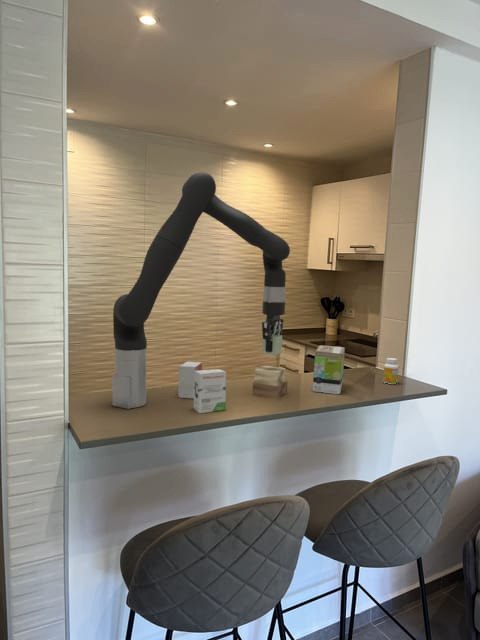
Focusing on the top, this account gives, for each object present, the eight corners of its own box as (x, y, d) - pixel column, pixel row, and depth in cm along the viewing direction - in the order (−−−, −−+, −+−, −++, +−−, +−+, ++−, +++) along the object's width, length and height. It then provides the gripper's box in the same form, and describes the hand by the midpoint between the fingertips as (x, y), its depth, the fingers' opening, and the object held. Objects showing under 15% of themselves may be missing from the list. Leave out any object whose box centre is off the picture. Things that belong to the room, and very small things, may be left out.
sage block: (276, 355, 149) (277, 337, 149) (262, 353, 151) (262, 335, 151) (281, 352, 154) (282, 335, 153) (267, 351, 156) (268, 334, 155)
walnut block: (277, 400, 148) (277, 386, 148) (252, 395, 152) (252, 382, 152) (286, 393, 157) (287, 381, 156) (262, 390, 160) (263, 377, 160)
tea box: (341, 395, 156) (343, 352, 155) (311, 392, 159) (314, 350, 157) (342, 384, 171) (345, 346, 169) (316, 382, 173) (318, 344, 172)
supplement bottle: (380, 382, 177) (381, 357, 176) (391, 381, 179) (393, 357, 178) (388, 385, 172) (390, 360, 171) (400, 384, 174) (402, 360, 173)
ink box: (219, 405, 139) (220, 368, 138) (226, 410, 134) (227, 371, 133) (192, 408, 135) (193, 369, 134) (198, 413, 131) (199, 373, 129)
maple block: (276, 386, 149) (277, 372, 148) (254, 382, 152) (254, 369, 152) (285, 381, 156) (285, 368, 155) (263, 378, 159) (264, 365, 159)
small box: (194, 399, 145) (195, 367, 144) (177, 397, 146) (178, 365, 145) (201, 392, 153) (202, 362, 151) (185, 391, 154) (186, 361, 153)
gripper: (271, 298, 159) (269, 346, 161) (255, 300, 146) (253, 352, 148) (291, 300, 156) (289, 348, 157) (276, 302, 143) (274, 355, 145)
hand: (271, 350), depth 153 cm, fingers closed on sage block, 5 cm apart
